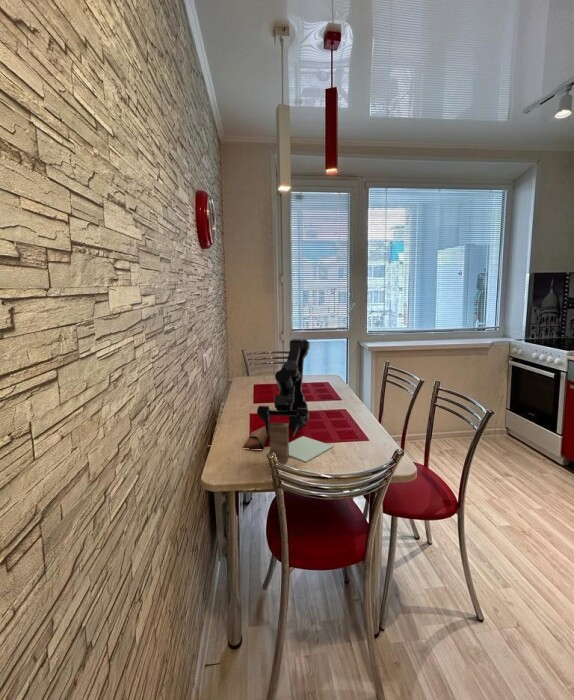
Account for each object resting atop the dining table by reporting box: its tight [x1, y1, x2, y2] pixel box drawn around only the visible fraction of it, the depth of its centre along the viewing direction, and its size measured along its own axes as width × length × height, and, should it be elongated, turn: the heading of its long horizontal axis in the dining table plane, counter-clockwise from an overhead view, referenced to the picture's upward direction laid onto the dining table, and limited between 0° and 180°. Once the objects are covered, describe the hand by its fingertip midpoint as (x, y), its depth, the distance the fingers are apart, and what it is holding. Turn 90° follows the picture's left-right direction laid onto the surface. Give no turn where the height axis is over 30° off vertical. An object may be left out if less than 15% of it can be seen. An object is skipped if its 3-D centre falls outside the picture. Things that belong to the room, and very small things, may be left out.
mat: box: [289, 435, 335, 463], centre depth 140 cm, size 17×15×1 cm
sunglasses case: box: [242, 425, 270, 451], centre depth 148 cm, size 18×7×7 cm
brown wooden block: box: [269, 422, 290, 464], centre depth 130 cm, size 4×6×13 cm, turn 79°
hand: (280, 435), depth 131 cm, fingers open, 9 cm apart
